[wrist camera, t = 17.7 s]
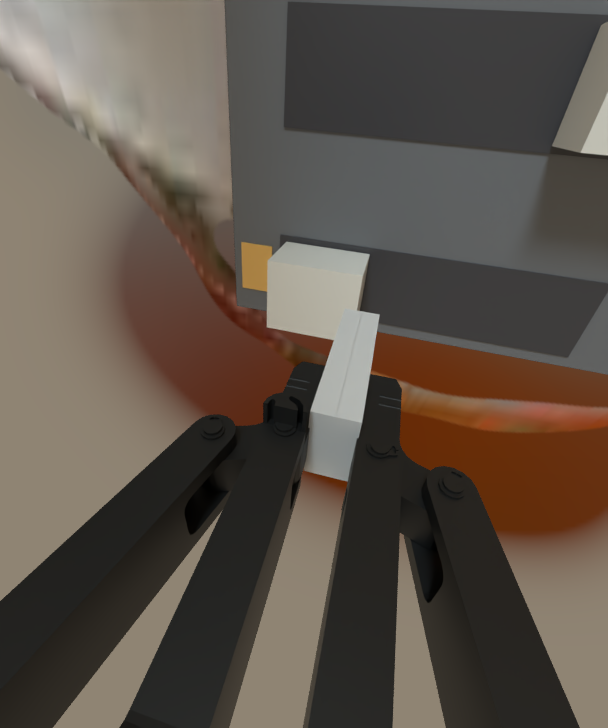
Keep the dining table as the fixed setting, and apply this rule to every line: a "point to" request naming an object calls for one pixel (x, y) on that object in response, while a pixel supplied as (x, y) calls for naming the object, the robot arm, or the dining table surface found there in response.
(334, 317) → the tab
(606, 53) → the block
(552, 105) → the switch panel
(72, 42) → the dining table surface
